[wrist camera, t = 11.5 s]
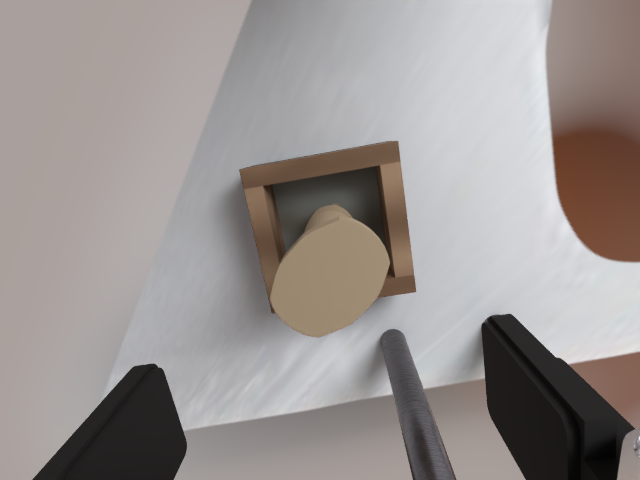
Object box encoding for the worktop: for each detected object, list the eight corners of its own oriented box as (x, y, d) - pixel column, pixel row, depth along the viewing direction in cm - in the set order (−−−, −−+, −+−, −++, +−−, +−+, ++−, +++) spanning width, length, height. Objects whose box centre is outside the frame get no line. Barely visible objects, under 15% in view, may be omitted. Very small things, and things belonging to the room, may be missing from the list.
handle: (287, 230, 33) (251, 296, 19) (334, 174, 32) (334, 200, 17) (328, 263, 34) (324, 353, 19) (376, 211, 32) (409, 265, 18)
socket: (253, 165, 33) (239, 169, 28) (388, 141, 32) (397, 141, 27) (280, 290, 36) (271, 313, 31) (404, 271, 35) (416, 291, 30)
